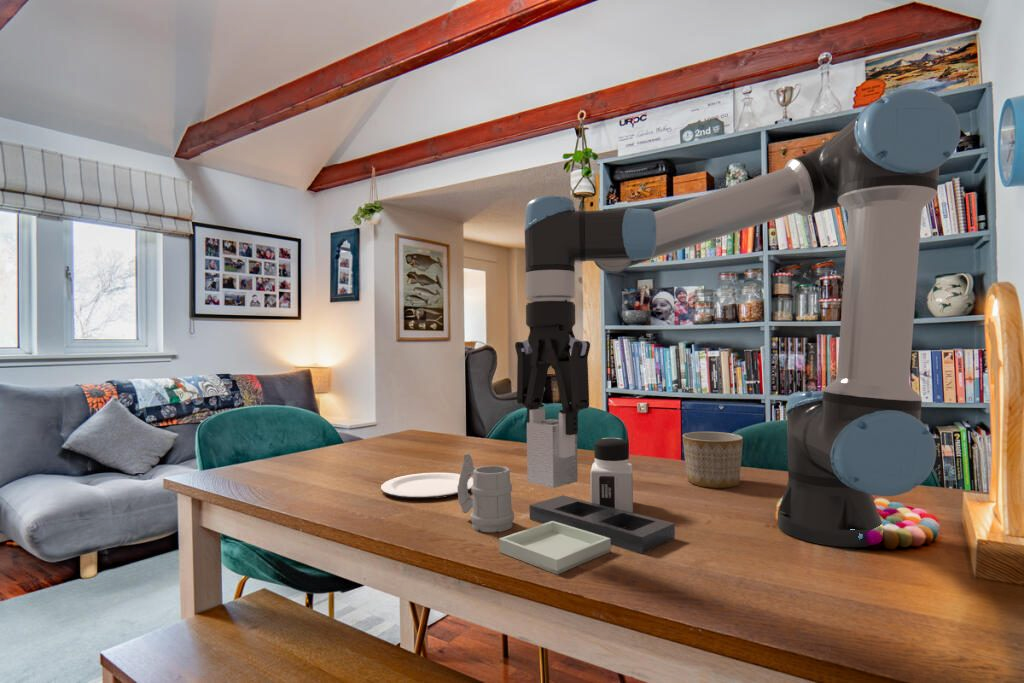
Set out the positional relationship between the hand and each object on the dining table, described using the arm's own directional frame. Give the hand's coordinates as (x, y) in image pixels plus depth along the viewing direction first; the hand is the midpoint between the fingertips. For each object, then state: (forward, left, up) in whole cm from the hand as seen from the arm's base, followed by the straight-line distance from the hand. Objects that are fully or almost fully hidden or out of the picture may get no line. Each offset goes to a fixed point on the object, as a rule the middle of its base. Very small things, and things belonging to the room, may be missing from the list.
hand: (552, 453), depth 86 cm
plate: (+45, -8, -16) cm, 48 cm away
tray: (0, 0, -15) cm, 15 cm away
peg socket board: (+2, -13, -15) cm, 20 cm away
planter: (+3, -55, -15) cm, 57 cm away
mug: (+18, -1, -15) cm, 24 cm away
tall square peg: (0, 0, -4) cm, 4 cm away
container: (+8, -25, -15) cm, 30 cm away
